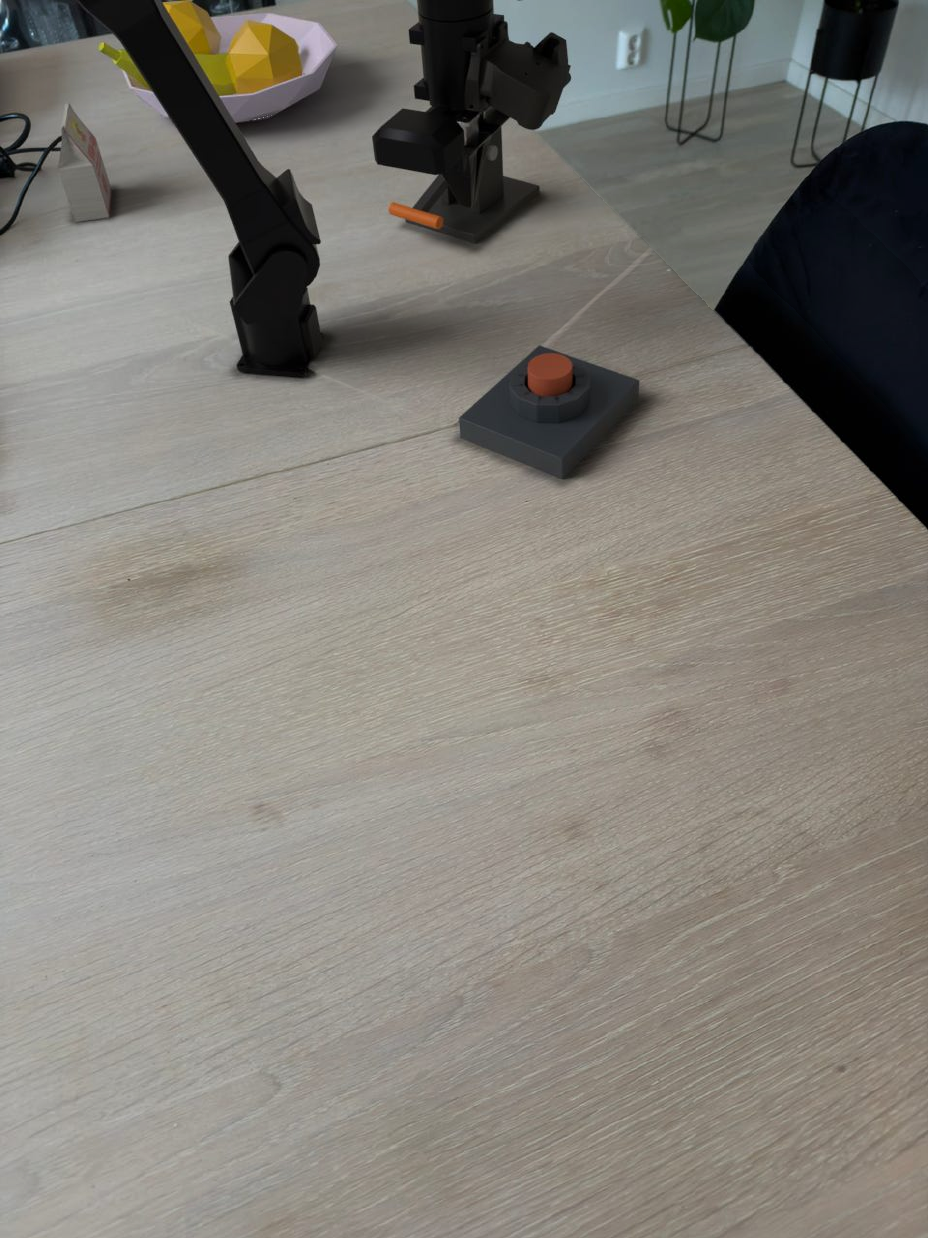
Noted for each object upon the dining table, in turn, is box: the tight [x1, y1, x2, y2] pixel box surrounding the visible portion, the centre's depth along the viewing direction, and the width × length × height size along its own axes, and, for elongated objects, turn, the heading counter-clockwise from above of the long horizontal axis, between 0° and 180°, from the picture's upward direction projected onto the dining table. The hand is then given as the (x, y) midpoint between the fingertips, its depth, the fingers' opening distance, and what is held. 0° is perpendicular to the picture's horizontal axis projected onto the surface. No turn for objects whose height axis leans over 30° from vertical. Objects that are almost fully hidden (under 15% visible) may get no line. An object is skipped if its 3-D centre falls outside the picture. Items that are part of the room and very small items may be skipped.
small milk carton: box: [57, 101, 113, 223], centre depth 119 cm, size 4×7×10 cm, turn 10°
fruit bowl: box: [97, 0, 338, 124], centre depth 135 cm, size 28×27×11 cm
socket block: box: [458, 344, 640, 480], centre depth 90 cm, size 12×10×4 cm
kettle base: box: [404, 126, 541, 245], centre depth 113 cm, size 12×9×9 cm
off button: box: [528, 353, 573, 396], centre depth 88 cm, size 4×4×2 cm
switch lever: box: [388, 174, 448, 229], centre depth 110 cm, size 12×6×2 cm, turn 144°
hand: (467, 204), depth 94 cm, fingers closed
